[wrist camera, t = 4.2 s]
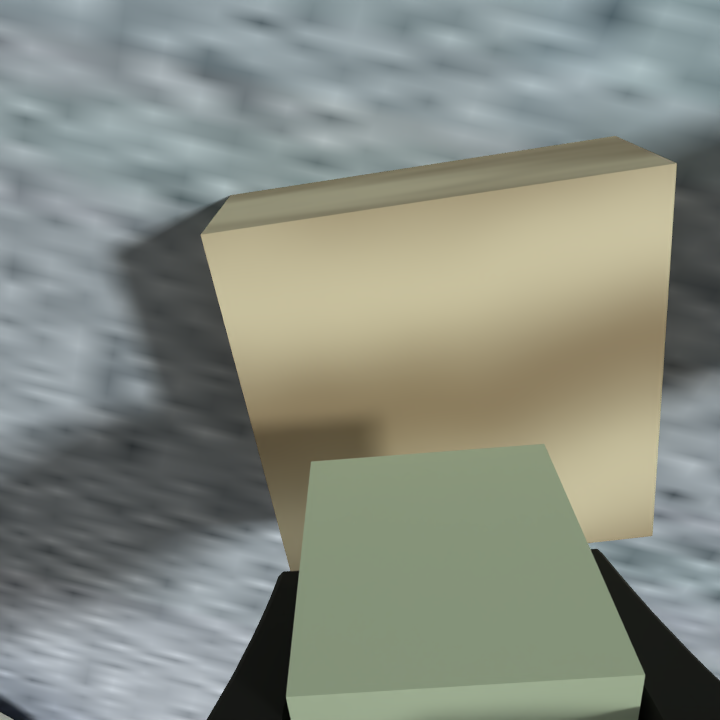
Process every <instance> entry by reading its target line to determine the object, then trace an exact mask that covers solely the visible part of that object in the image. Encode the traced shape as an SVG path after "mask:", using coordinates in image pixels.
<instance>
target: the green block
mask: <svg viewBox="0 0 720 720" xmlns="http://www.w3.org/2000/svg"><path fill="white" fill-rule="evenodd" d="M644 680H645V673H644V671H643V669H642V666H641V664H640V662H639V659H638V657H637V655H636V653H635V650H634V648H633V646H632V643H631V641H630V639H629V637H628V634H627V632H626V630H625V627H624V625H623V623H622V621H621V618H620V616H619V614H618V611H617V609H616V607H615V605H614V602H613V600H612V598H611V595H610V593H609V591H608V589H607V586H606V584H605V582H604V579H603V577H602V575H601V572H600V570H599V568H598V566H597V563H596V561H595V559H594V556H593V554H592V552H591V550H590V547H589V545H588V543H587V540H586V538H585V536H584V534H583V531H582V529H581V527H580V524H579V522H578V520H577V518H576V515H575V513H574V511H573V508H572V506H571V504H570V502H569V499H568V497H567V495H566V492H565V490H564V488H563V486H562V483H561V481H560V479H559V476H558V474H557V472H556V470H555V467H554V465H553V463H552V460H551V458H550V456H549V454H548V451H547V449H546V447H545V444H536V445H523V446H509V447H496V448H483V449H470V450H457V451H443V452H430V453H417V454H404V455H391V456H377V457H364V458H351V459H338V460H325V461H312V462H311V466H310V475H309V485H308V494H307V503H306V513H305V522H304V532H303V541H302V550H301V560H300V569H299V579H298V588H297V597H296V607H295V616H294V626H293V635H292V644H291V654H290V663H289V672H288V682H287V691H286V700H287V704H288V709H289V714H290V718H291V720H638V716H639V710H640V704H641V698H642V692H643V686H644Z"/></svg>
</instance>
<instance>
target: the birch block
mask: <svg viewBox="0 0 720 720" xmlns="http://www.w3.org/2000/svg"><path fill="white" fill-rule="evenodd" d="M676 167H677V163H675V162H673V161H670V160H668V159H666V158H664V157H661V156H659V155H657V154H655V153H652V152H650V151H648V150H646V149H643V148H641V147H639V146H637V145H634V144H632V143H630V142H628V141H625V140H623V139H621V138H619V137H616V136H613V137H606V138H600V139H593V140H587V141H580V142H574V143H567V144H561V145H554V146H548V147H541V148H535V149H528V150H522V151H515V152H509V153H502V154H496V155H489V156H483V157H476V158H470V159H463V160H457V161H450V162H444V163H437V164H431V165H424V166H418V167H411V168H405V169H399V170H392V171H386V172H379V173H373V174H366V175H360V176H353V177H347V178H340V179H334V180H327V181H321V182H314V183H308V184H301V185H295V186H288V187H282V188H275V189H269V190H262V191H256V192H249V193H243V194H236V195H230V197H229V198H228V199H227V201H226V202H225V203H224V205H223V206H222V207H221V209H220V210H219V211H218V212H217V214H216V215H215V216H214V218H213V219H212V220H211V222H210V223H209V224H208V226H207V227H206V228H205V230H204V231H203V232H202V234H201V238H202V242H203V246H204V249H205V253H206V257H207V261H208V264H209V268H210V272H211V276H212V279H213V283H214V287H215V291H216V294H217V298H218V302H219V305H220V309H221V313H222V317H223V320H224V324H225V328H226V332H227V335H228V339H229V343H230V347H231V350H232V354H233V358H234V362H235V365H236V369H237V373H238V376H239V380H240V384H241V388H242V391H243V395H244V399H245V403H246V406H247V410H248V414H249V418H250V421H251V425H252V429H253V433H254V436H255V440H256V444H257V447H258V451H259V455H260V459H261V462H262V466H263V470H264V474H265V477H266V481H267V485H268V489H269V492H270V496H271V500H272V503H273V507H274V511H275V515H276V518H277V522H278V526H279V530H280V533H281V537H282V541H283V545H284V548H285V552H286V556H287V560H288V563H289V567H290V571H299V569H300V560H301V550H302V541H303V532H304V522H305V513H306V503H307V494H308V485H309V475H310V466H311V462H312V461H325V460H338V459H351V458H364V457H377V456H391V455H404V454H417V453H430V452H443V451H457V450H470V449H483V448H496V447H509V446H523V445H536V444H545V447H546V449H547V451H548V454H549V456H550V458H551V460H552V463H553V465H554V467H555V470H556V472H557V474H558V476H559V479H560V481H561V483H562V486H563V488H564V490H565V492H566V495H567V497H568V499H569V502H570V504H571V506H572V508H573V511H574V513H575V515H576V518H577V520H578V522H579V524H580V527H581V529H582V531H583V534H584V536H585V538H586V540H587V543H593V542H602V541H611V540H620V539H629V538H638V537H647V536H652V532H653V517H654V502H655V487H656V472H657V456H658V441H659V426H660V411H661V396H662V380H663V365H664V350H665V335H666V319H667V304H668V289H669V274H670V259H671V243H672V228H673V213H674V198H675V183H676Z"/></svg>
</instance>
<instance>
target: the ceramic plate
mask: <svg viewBox="0 0 720 720" xmlns="http://www.w3.org/2000/svg"><path fill="white" fill-rule="evenodd" d="M0 720H13V719H12V718H10V717H8V716H6V715H4V714H2V713H1V712H0Z"/></svg>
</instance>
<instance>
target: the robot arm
mask: <svg viewBox="0 0 720 720" xmlns="http://www.w3.org/2000/svg"><path fill="white" fill-rule="evenodd" d="M590 550H591V552H592V554H593V556H594V559H595V561H596V563H597V566H598V568H599V570H600V572H601V575H602V577H603V579H604V582H605V584H606V586H607V589H608V591H609V593H610V595H611V598H612V600H613V602H614V605H615V607H616V609H617V611H618V614H619V616H620V618H621V621H622V623H623V625H624V627H625V630H626V632H627V634H628V637H629V639H630V641H631V643H632V646H633V648H634V650H635V653H636V655H637V657H638V659H639V662H640V664H641V666H642V669H643V671H644V673H645V680H644V686H643V692H642V698H641V704H640V710H639V716H638V720H720V680H719V679H718V678H716V677H715V676H714V675H713V674H712V673H711V672H710V671H709V670H708V669H707V668H706V667H705V666H704V665H703V664H702V663H701V662H700V661H699V660H698V659H697V658H696V657H695V656H694V655H693V654H692V653H691V652H690V651H689V650H688V649H687V648H686V647H685V646H684V645H683V644H682V643H681V642H680V641H679V639H678V638H677V637H676V636H675V635H674V634H673V633H672V632H671V631H670V630H669V629H668V628H667V627H666V626H665V625H664V624H663V623H662V622H661V621H660V619H659V618H658V617H657V616H656V615H655V614H654V613H653V612H652V611H651V610H650V608H649V607H648V606H647V605H646V604H645V603H644V602H643V601H642V599H641V598H640V597H639V596H638V595H637V594H636V593H635V592H634V590H633V589H632V588H631V587H630V586H629V585H628V583H627V582H626V581H625V580H624V579H623V578H622V576H621V575H620V574H619V573H618V572H617V570H616V569H615V568H614V567H613V566H612V564H611V563H610V562H609V561H608V560H607V558H606V557H605V556H604V555H603V554H602V553H601V552H600V551H599V550H598V549H590ZM298 579H299V571H287V572H283V573H282V574H281V575H280V576H279V577H278V579H277V582H276V585H275V587H274V590H273V592H272V595H271V597H270V600H269V602H268V604H267V607H266V609H265V611H264V613H263V616H262V618H261V620H260V622H259V624H258V626H257V628H256V631H255V633H254V635H253V637H252V639H251V641H250V643H249V645H248V647H247V648H246V650H245V652H244V654H243V656H242V658H241V660H240V662H239V664H238V666H237V668H236V670H235V672H234V673H233V675H232V677H231V679H230V681H229V683H228V684H227V686H226V688H225V689H224V691H223V693H222V694H221V696H220V698H219V700H218V701H217V703H216V705H215V706H214V708H213V710H212V712H211V713H210V715H209V717H208V718H207V720H291V718H290V714H289V709H288V704H287V700H286V691H287V682H288V672H289V663H290V654H291V644H292V635H293V626H294V616H295V607H296V597H297V588H298Z"/></svg>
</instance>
